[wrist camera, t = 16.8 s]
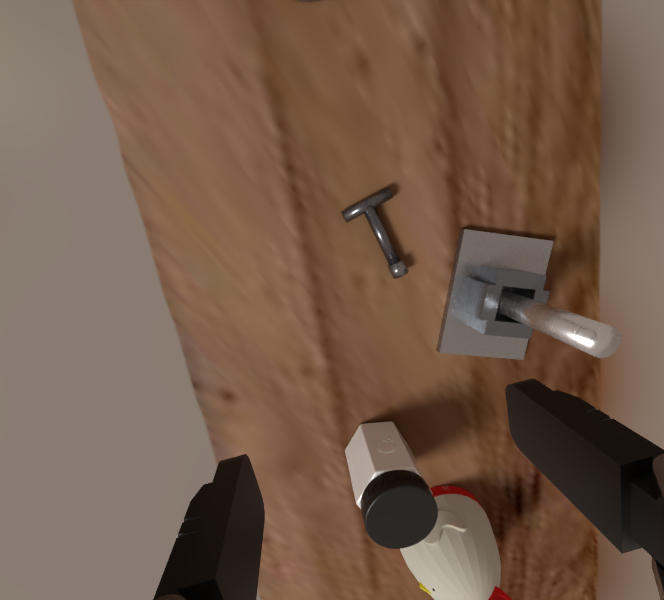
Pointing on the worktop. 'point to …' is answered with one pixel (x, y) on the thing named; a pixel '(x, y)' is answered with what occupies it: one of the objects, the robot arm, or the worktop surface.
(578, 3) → the worktop surface
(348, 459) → the jar
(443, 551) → the kitchen timer
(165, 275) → the worktop surface
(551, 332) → the steel rod
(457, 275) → the chuck block
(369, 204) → the chuck key
